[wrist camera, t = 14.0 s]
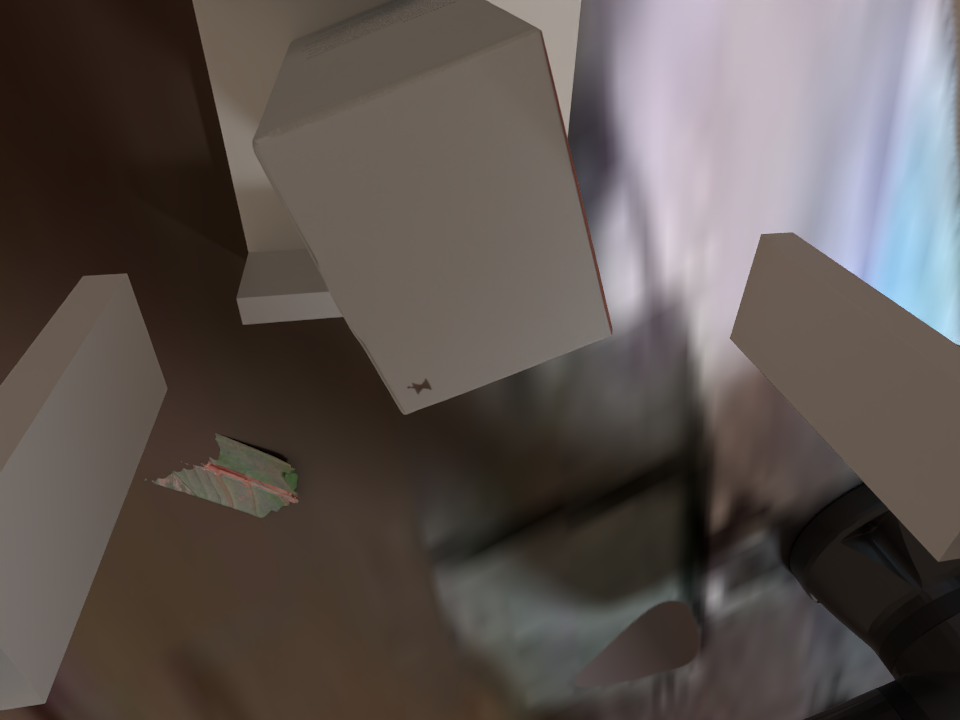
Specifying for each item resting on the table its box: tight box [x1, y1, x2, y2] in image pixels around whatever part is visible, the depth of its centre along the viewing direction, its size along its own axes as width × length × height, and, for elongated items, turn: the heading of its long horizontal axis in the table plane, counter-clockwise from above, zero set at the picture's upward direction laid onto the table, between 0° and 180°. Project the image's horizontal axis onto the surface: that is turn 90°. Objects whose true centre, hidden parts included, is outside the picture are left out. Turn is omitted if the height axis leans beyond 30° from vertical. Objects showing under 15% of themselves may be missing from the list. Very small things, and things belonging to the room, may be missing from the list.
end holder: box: [192, 0, 581, 325], centre depth 23 cm, size 14×13×5 cm
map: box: [145, 433, 298, 517], centre depth 32 cm, size 5×20×1 cm, turn 54°
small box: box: [252, 0, 612, 415], centre depth 19 cm, size 8×6×13 cm
